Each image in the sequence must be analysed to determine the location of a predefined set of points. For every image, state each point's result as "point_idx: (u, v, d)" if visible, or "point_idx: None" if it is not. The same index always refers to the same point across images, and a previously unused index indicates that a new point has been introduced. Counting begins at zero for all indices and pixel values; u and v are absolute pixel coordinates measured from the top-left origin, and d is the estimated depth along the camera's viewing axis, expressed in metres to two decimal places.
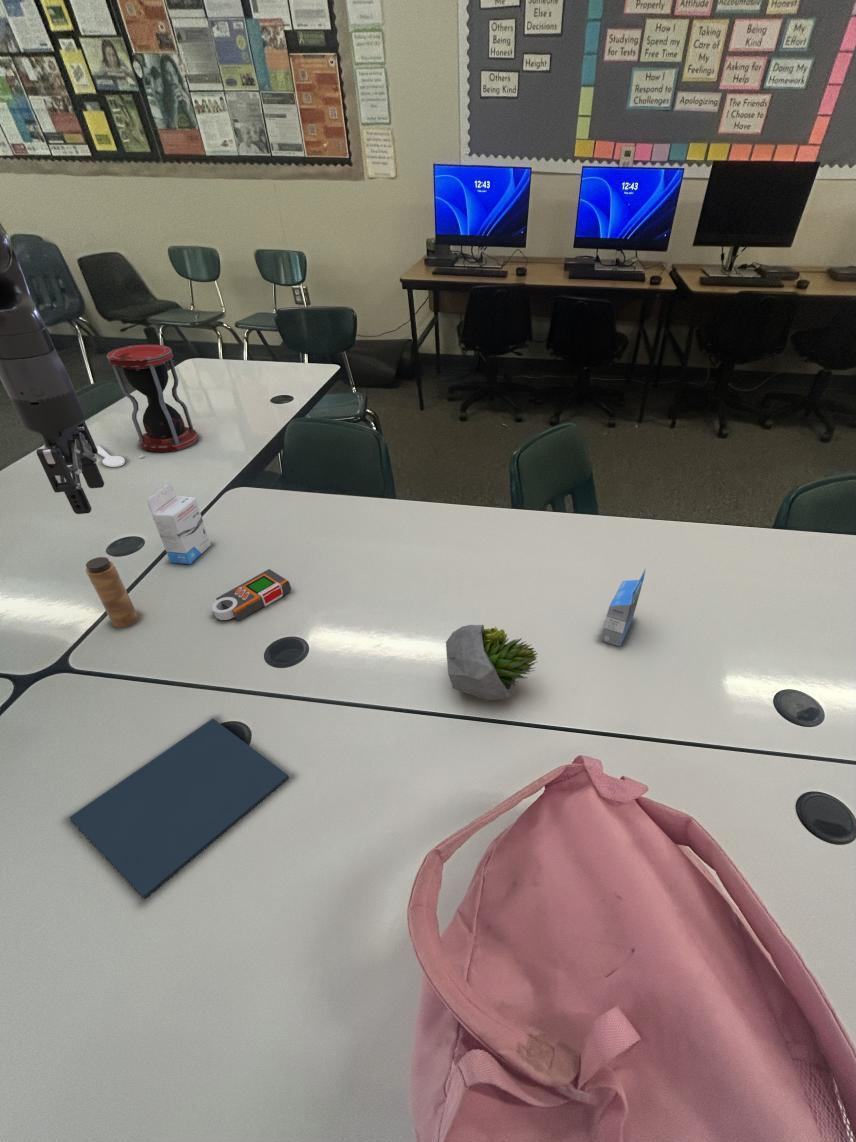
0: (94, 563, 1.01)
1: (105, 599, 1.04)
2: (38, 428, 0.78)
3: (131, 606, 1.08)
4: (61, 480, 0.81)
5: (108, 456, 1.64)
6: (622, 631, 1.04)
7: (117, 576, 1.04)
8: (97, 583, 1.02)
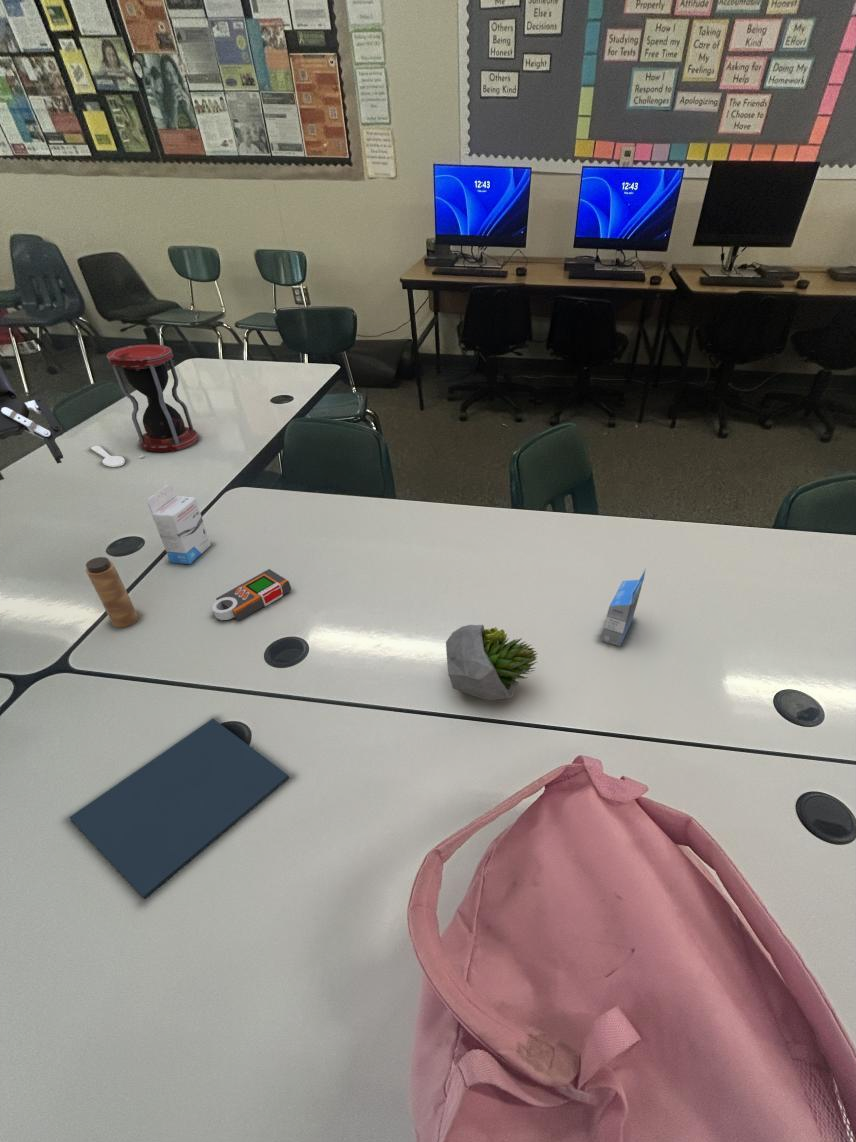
0: (94, 563, 1.01)
1: (105, 599, 1.04)
2: (12, 390, 0.94)
3: (131, 606, 1.08)
4: (43, 429, 0.96)
5: (108, 456, 1.64)
6: (622, 631, 1.04)
7: (117, 576, 1.04)
8: (97, 583, 1.02)
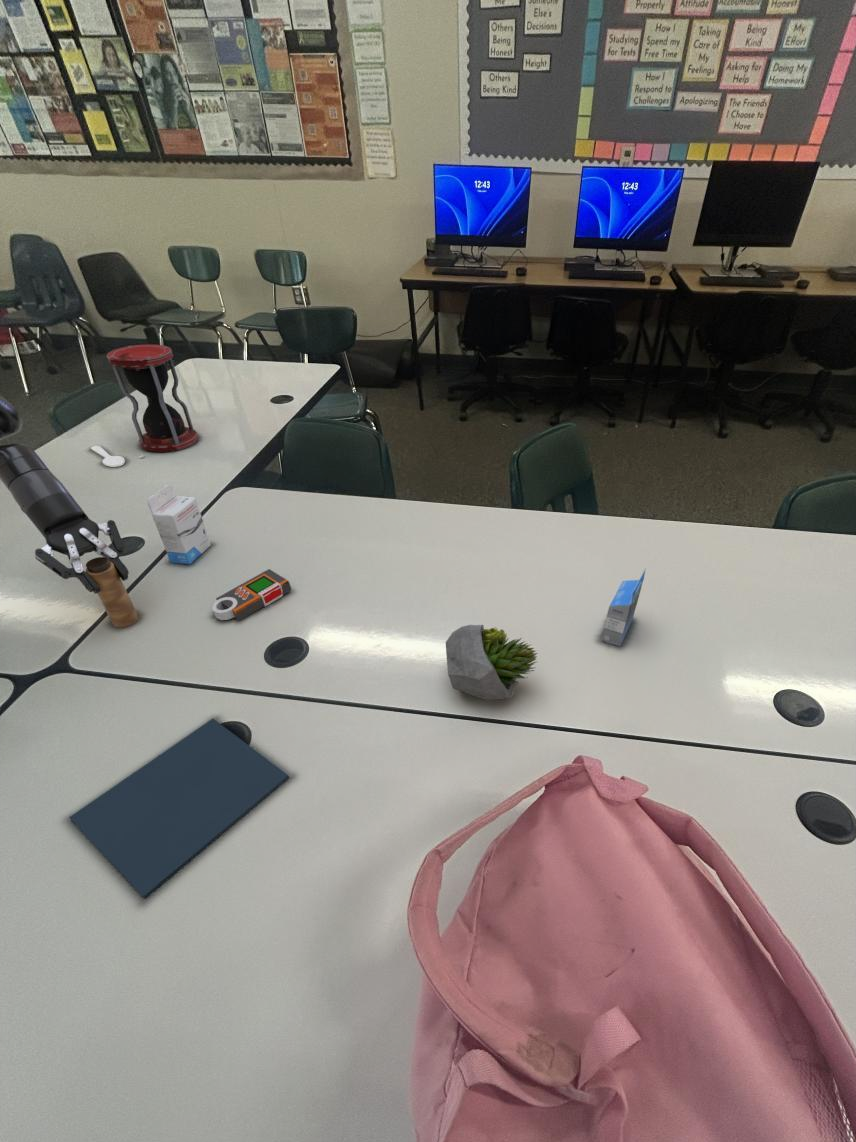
0: (94, 563, 1.01)
1: (105, 599, 1.04)
2: (84, 512, 1.03)
3: (131, 606, 1.08)
4: None
5: (108, 456, 1.64)
6: (622, 631, 1.04)
7: (117, 576, 1.04)
8: (97, 583, 1.02)
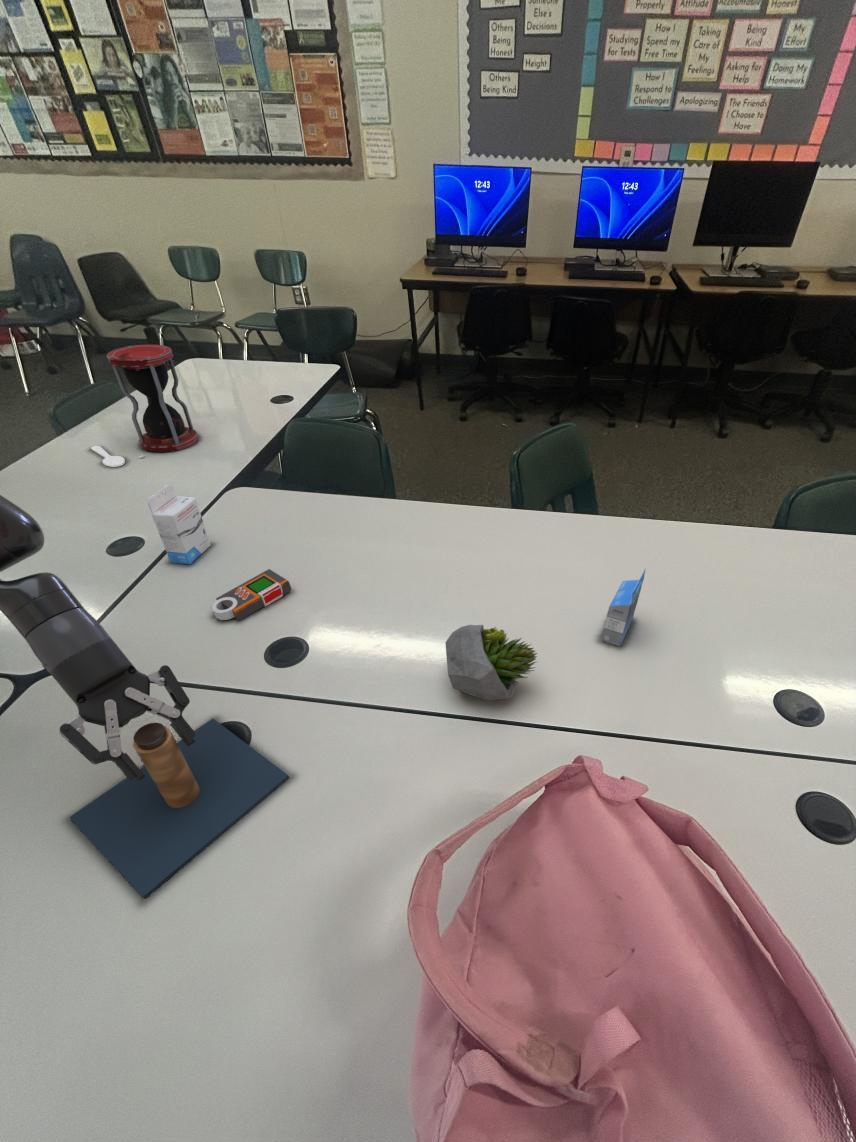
0: (146, 735, 0.72)
1: (158, 779, 0.75)
2: (130, 662, 0.73)
3: (192, 779, 0.79)
4: None
5: (108, 456, 1.64)
6: (622, 631, 1.04)
7: (176, 747, 0.74)
8: (149, 762, 0.72)
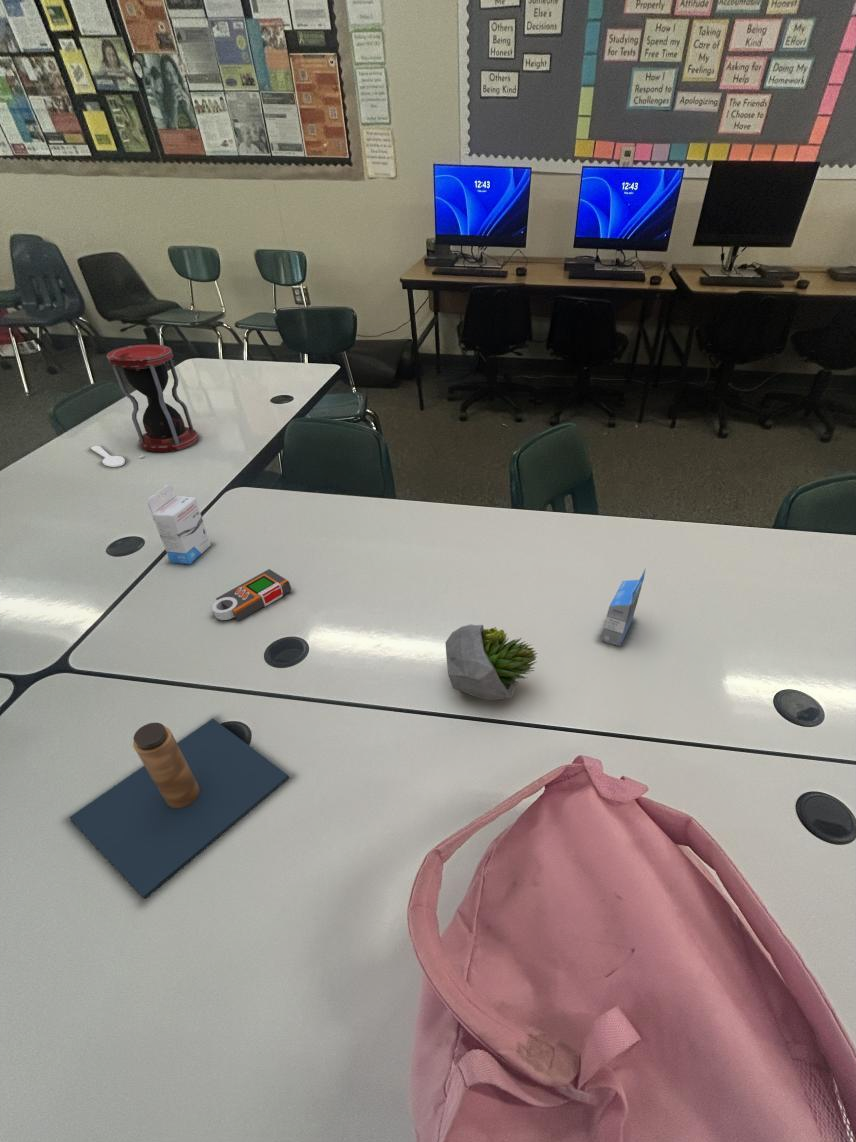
0: (146, 735, 0.72)
1: (158, 779, 0.75)
2: None
3: (192, 779, 0.79)
4: None
5: (108, 456, 1.64)
6: (622, 631, 1.04)
7: (176, 747, 0.74)
8: (149, 762, 0.72)
